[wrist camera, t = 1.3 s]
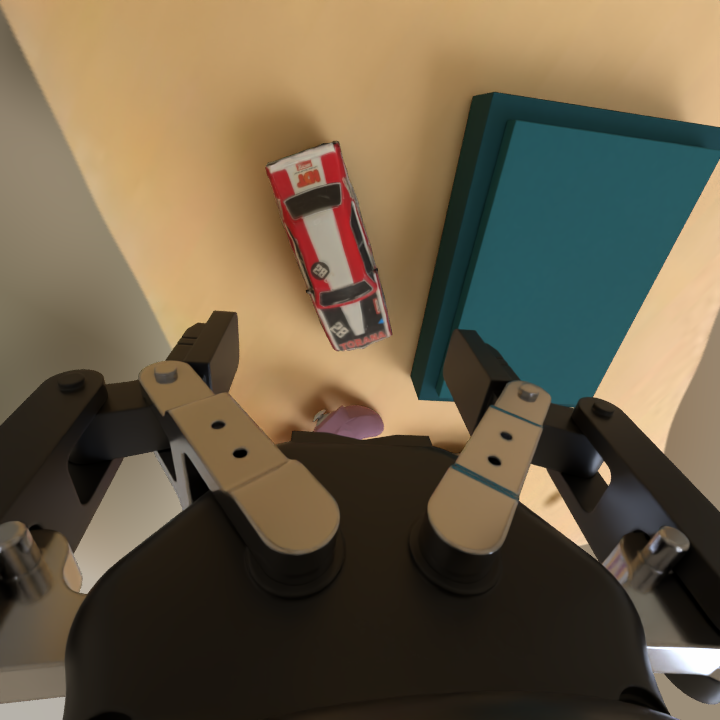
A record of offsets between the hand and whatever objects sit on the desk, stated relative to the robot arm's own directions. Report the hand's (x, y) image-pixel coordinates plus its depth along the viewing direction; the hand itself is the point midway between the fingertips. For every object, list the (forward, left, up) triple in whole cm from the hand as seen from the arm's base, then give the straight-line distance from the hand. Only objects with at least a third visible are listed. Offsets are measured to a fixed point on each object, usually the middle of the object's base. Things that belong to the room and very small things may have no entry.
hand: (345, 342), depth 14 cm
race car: (0, 0, -12) cm, 12 cm away
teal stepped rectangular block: (0, +13, -12) cm, 17 cm away
